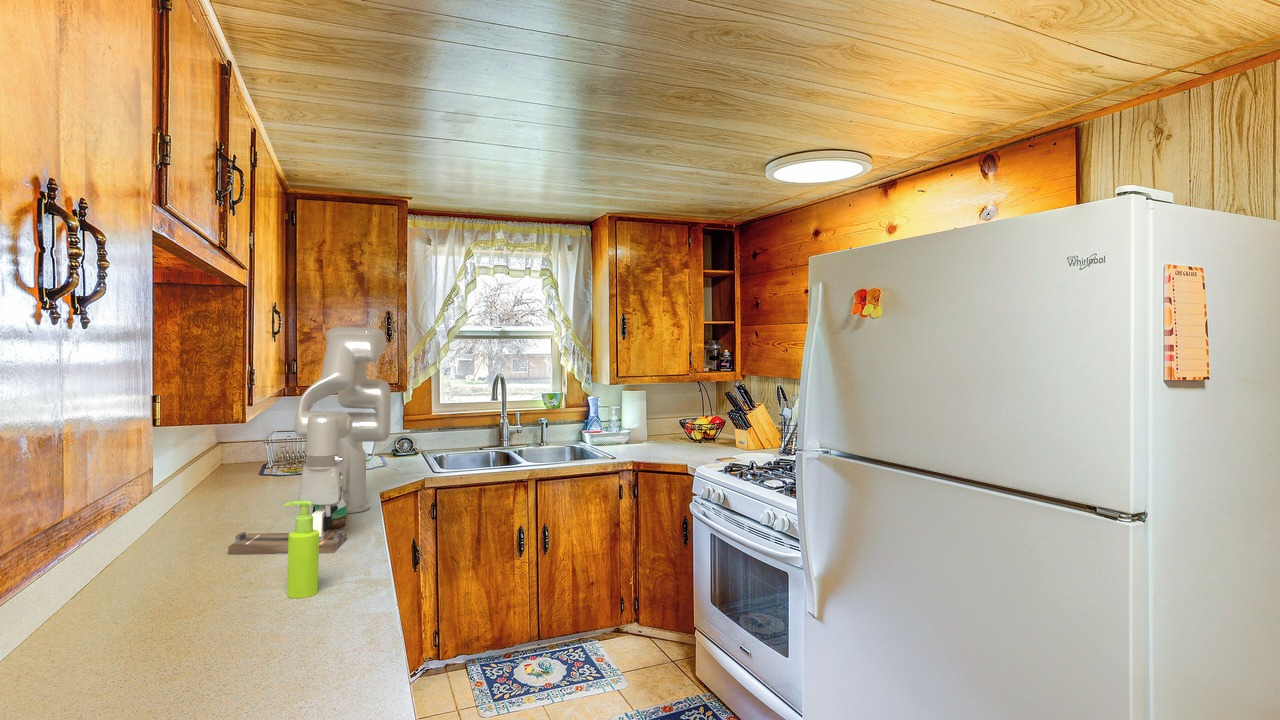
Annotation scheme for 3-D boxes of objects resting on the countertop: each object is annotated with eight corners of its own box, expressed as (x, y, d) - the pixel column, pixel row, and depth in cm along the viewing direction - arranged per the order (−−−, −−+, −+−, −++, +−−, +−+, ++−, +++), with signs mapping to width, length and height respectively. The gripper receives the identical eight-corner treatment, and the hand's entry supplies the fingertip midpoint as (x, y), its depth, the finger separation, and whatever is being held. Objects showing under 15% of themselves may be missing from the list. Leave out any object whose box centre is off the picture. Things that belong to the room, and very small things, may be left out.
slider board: (247, 540, 179) (248, 528, 179) (346, 539, 183) (346, 526, 183) (228, 554, 167) (228, 540, 167) (333, 552, 171) (334, 539, 171)
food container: (332, 533, 188) (333, 498, 188) (312, 531, 189) (313, 496, 189) (358, 523, 200) (359, 490, 200) (340, 521, 201) (341, 488, 201)
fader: (317, 534, 179) (318, 508, 179) (329, 534, 179) (329, 508, 179) (310, 541, 173) (310, 513, 173) (322, 541, 173) (323, 513, 173)
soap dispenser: (282, 590, 144) (285, 499, 144) (318, 587, 147) (320, 497, 146) (280, 600, 139) (282, 505, 138) (316, 596, 141) (319, 503, 141)
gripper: (357, 459, 181) (355, 526, 181) (294, 458, 178) (292, 527, 179) (350, 463, 173) (348, 534, 174) (284, 463, 171) (282, 534, 171)
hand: (320, 529), depth 176 cm, fingers closed on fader, 2 cm apart
